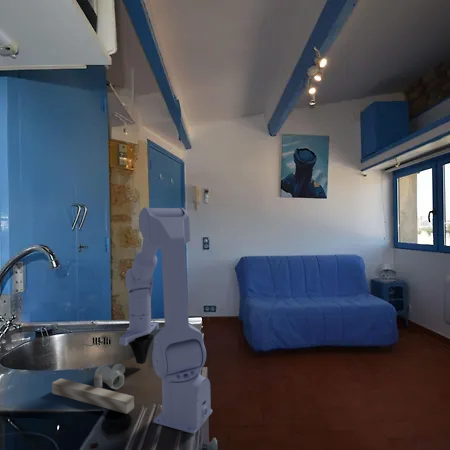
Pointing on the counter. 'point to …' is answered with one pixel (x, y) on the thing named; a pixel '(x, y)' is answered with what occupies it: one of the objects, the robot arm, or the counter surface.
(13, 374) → the counter surface
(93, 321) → the counter surface
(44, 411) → the counter surface
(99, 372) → the pipe fitting
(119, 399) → the light wooden bar
